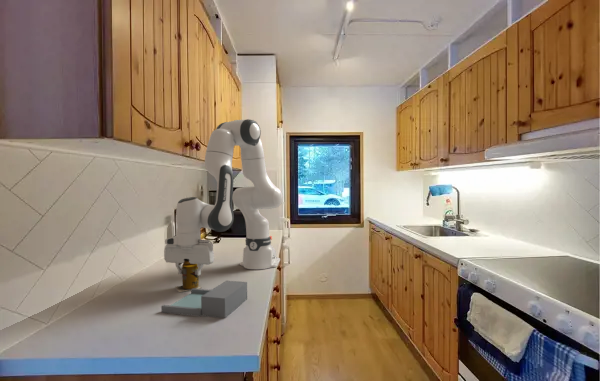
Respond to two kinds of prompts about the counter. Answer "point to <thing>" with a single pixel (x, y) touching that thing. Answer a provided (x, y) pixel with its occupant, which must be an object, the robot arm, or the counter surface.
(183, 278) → the condiment
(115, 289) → the counter surface
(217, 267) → the counter surface
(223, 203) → the robot arm
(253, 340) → the counter surface
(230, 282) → the teal-floored tray
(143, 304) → the counter surface
